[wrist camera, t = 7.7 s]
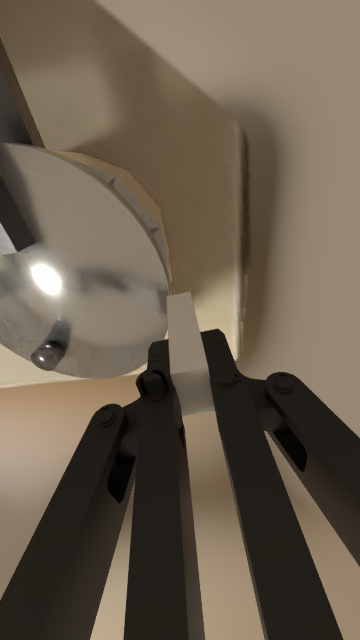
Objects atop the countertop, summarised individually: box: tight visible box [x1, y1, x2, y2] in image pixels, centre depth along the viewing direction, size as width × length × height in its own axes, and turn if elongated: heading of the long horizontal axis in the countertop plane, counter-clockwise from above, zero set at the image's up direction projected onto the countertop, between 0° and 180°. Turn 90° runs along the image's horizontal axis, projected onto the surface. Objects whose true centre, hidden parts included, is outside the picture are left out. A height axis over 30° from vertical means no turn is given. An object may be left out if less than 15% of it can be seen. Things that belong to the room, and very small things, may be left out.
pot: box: [0, 39, 172, 282], centre depth 22 cm, size 18×24×9 cm
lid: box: [0, 143, 172, 379], centre depth 16 cm, size 17×19×3 cm
